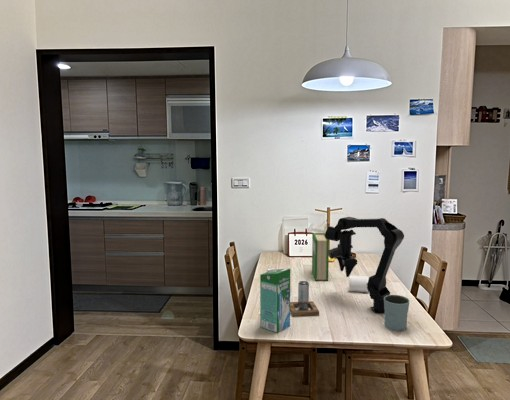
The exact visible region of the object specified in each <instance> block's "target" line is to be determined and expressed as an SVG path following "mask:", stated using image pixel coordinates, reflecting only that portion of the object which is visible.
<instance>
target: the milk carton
mask: <svg viewBox="0 0 510 400" xmlns="http://www.w3.org/2000/svg"><path fill="white" fill-rule="evenodd" d="M259 279H260V280H259V283H260V287H259V288H260V289H259V290H260V291H259V292H260V293H259V294H260V295H259V298H260V300H259V301H260V303H259V304H260V305H259V306H260V307H259V309H260V316H259V317H260V319H259V320H260V321H259V322H260V328H262V329H265V330H268V331H271V332H273V333H276V334H279V333H280V332H282V331H283V330H286V328H287V329H288V327H290V326H291V312H290V302H291V268H276V267H272V268H268V269H266V272H264V273H261V274H260V275H259Z"/></svg>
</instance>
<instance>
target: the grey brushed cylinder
mask: <svg viewBox="0 0 510 400" xmlns="http://www.w3.org/2000/svg"><path fill="white" fill-rule="evenodd" d="M297 285H298V287H297V289H298V293H297V297H298V298H297V302H298V308H297V310H310V309H309V308H310V307H309V301H310V300H309V299H310V283H309V282H308V280H307V281H306V280H301V281H299V282H298V283H297Z"/></svg>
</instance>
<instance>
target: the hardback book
mask: <svg viewBox="0 0 510 400" xmlns="http://www.w3.org/2000/svg"><path fill="white" fill-rule="evenodd" d="M325 233H326V232H312V234H311V235H312V237H311V238H312V239H311V240H312V241H311V242H312V243H311V245H312V248H311V273H312V277H313V279H314V282H317V281H325V282H329V263H330V261H329V258H330V257H329V255H328V252H327V251H328V250H330V240H327V239H326V238H325Z"/></svg>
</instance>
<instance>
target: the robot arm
mask: <svg viewBox="0 0 510 400" xmlns="http://www.w3.org/2000/svg"><path fill="white" fill-rule="evenodd" d="M355 228H376V229H378V231H379V233H380V235H381V236H383V238H384V240H383V244H384V249H383V250H382V251H383V252H382V254H381V256H380V259H379V263H378V266H377V269H376V271H375V274H373V275H371V276H368V277H369V280H368V283H367V284H366V285H367V289H368V291H369V292H368V294H369V297H370V299H371V300H372V301H373V302H372V306H370V310H371V311H372V312H374V313H375V314H385V309H384V297H385V296H387V295H391V291H390V290H389V289H388V288H387V274H388V272H389V269H390V266H391V263H392V261H393V259H394V255H395V252H396V250H397V249H398V247H399V246H400V245H401V244H402V242H403V240H404V239H405V234H404V232H403V231H402V230H401V229H399V228H398V227H397V226H395V225H394V224H392V223H391V222H390V221H388V220H387V219H386V218H383V217H380V218H356V217H352V216H346V217H342V218H339V219H338V221H337V223H336V225H335V226H331V225H329V226H327V229H326V231H325V232H324V233H325V238H326V239H327V240H329V241H334V242H339V243H338V244H337V247H333V248H331V249H329V250H328V251H327V252H328V255H329V258H330V260H333V259H334V258H335V259H337V262H338V265H339V269H340V270H339V271H340V272H343V271H344V270H345V271H344V272H345V277H346V278H349V276H350V275H351V273H352V271H353V270H354V268H355V267H356V265H358V259H356V258H355V257H354V256H353V253H352V249H353V247H354V246H353V245H352V236H354V235H356V234H357V233H356V232H355V231H354V230H353V229H355ZM349 229H350V230H349Z"/></svg>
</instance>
